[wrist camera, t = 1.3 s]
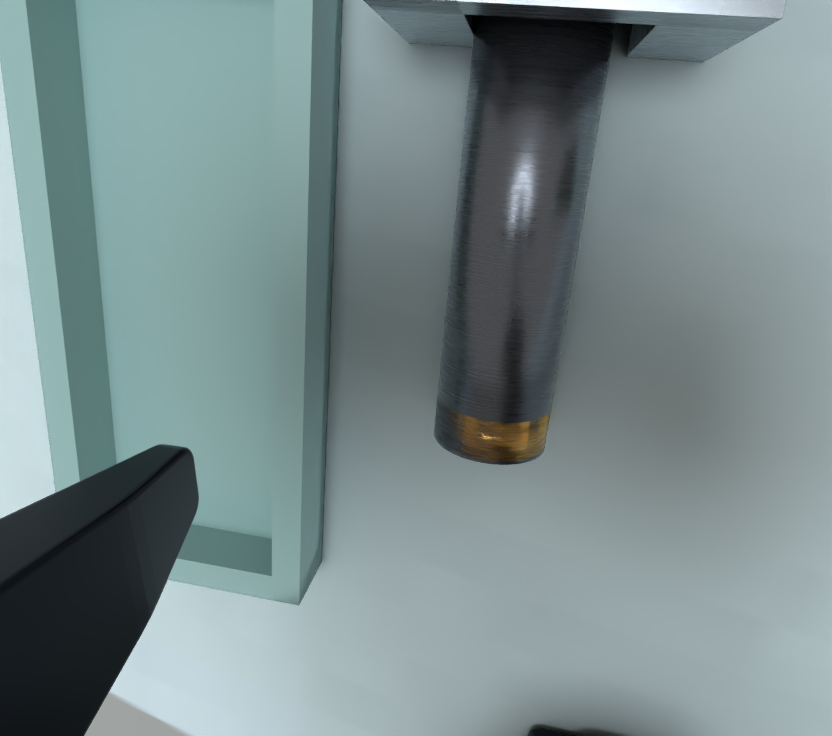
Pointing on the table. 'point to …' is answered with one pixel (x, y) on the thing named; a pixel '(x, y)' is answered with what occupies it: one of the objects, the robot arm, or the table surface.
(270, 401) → the tray
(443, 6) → the clevis
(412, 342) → the table surface
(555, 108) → the dark grey cylinder
